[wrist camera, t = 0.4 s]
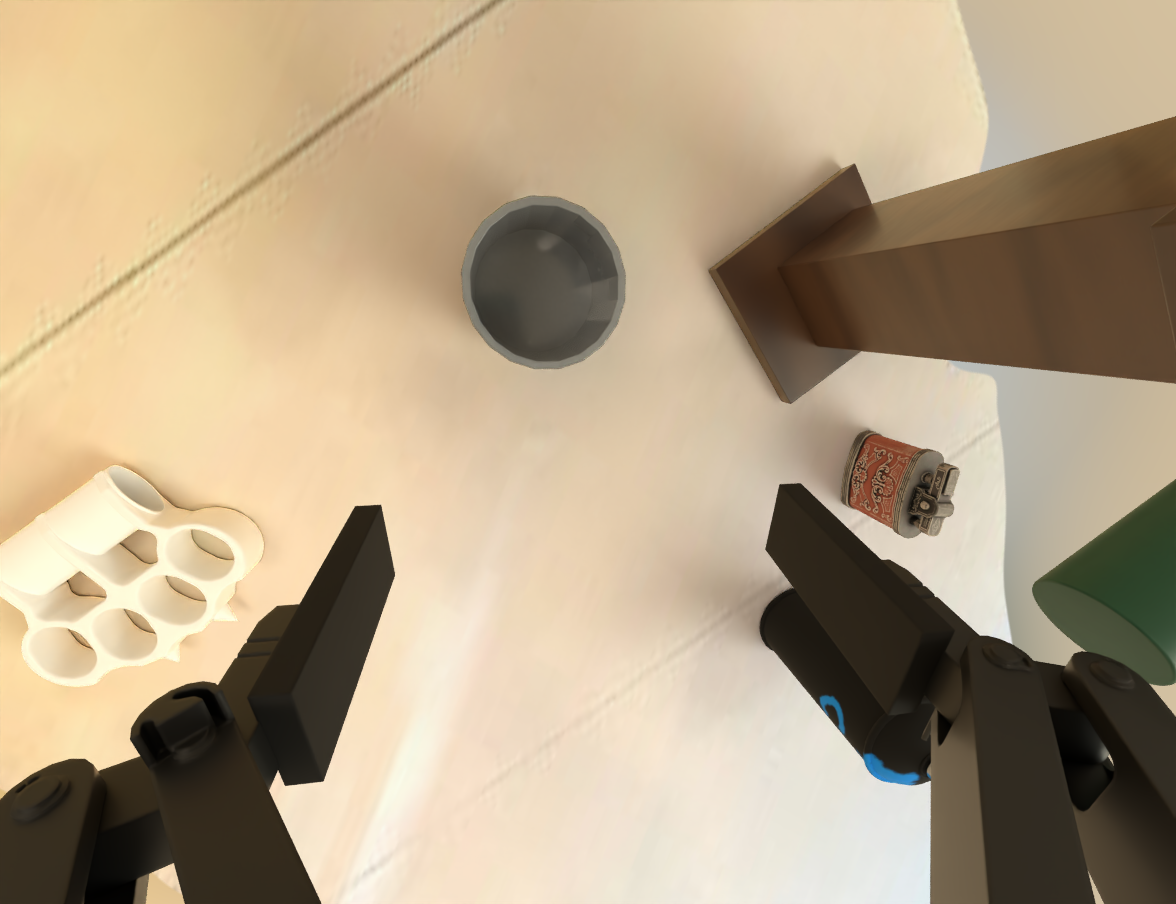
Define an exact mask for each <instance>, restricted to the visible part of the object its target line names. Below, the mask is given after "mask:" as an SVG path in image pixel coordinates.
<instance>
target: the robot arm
mask: <svg viewBox="0 0 1176 904" xmlns="http://www.w3.org/2000/svg"><path fill="white" fill-rule="evenodd" d="M765 550H766V551H767V552H768V554H769V555H770V556H771V558H772V559H773V560H774V562H775V563H776V565H777V566H778V567H779V569H780V570H781V571H782V573H783V574H784V575H785V577H786V578H787V579H788V581H789V582H790V583H791V585H792V586H793V588H794V589H795V590H796V592H797V593H798V594H799V596H800V597H801V598H802V600H803V601H804V602H805V604H806V605H807V606H808V608H809V609H810V611H811V612H812V613H813V615H814V616H815V617H816V619H817V620H818V621H819V623H820V624H821V625H822V627H823V628H824V629H825V631H826V632H827V634H828V635H829V636H830V638H831V639H832V640H833V642H834V643H835V644H836V646H837V647H838V648H839V650H840V651H841V652H842V654H843V655H844V657H845V658H846V659H847V661H848V662H849V663H850V665H851V666H852V667H853V669H854V670H855V671H856V673H857V674H858V675H859V677H860V678H861V680H862V681H863V682H864V684H865V685H866V686H867V688H868V689H869V690H870V692H871V693H872V694H873V696H874V697H875V698H876V700H877V701H878V703H879V704H880V705H881V707H882V708H883V709H884V711H885V712H886V713H887V715H897V714H905V713H914V712H917V710H918V708H919V706H920V704H921V701H922V699H923V697H924V695H925V696H926V697H927V698H928V699H929V701H930V702H931V703H932V704H933V705H934V706H935V710H934V712H933V714H932V716H931V718H930V720H929V722H928V724H927V726H926V728H925V730H924V732H923V735H922V737H921V739H923V740H925V741H927V739H928V737H929V735H931V863H930V904H1096V903H1095V899H1094V895H1093V891H1092V886H1091V882H1090V878H1089V874H1088V871H1089V873H1090V875H1091V877H1092V880H1093V881H1094V884H1095V886H1096V888H1097V890H1098V892H1099V894H1100V896H1101V898H1102V900H1103V902H1104V904H1176V717H1175V715H1174V714H1173V713H1172V711H1171V710H1170V709H1169V708H1168V707H1167V705H1166V704H1165V703H1164V702H1163V700H1162V699H1161V698H1160V697H1159V695H1158V694H1157V693H1156V692H1155V690H1154V689H1153V688H1152V687H1151V686H1150V685H1149V683H1148V682H1147V681H1145V680H1144V679H1143V678H1142V677H1141V676H1140V675H1139V674H1138V673H1136V672H1135V671H1133V670H1132V669H1130V668H1129V667H1127V666H1126V665H1124V664H1122V663H1120V662H1119V661H1116V660H1114V659H1112V658H1109V657H1106V656H1103V655H1100V654H1097V653H1092V652H1083V651H1082V652H1078V653H1075V654H1073V656H1072V657H1071V659H1070V661H1069V662H1068V664H1067V665H1066V666H1061V665H1055V664H1049V663H1043V662H1038V661H1033V660H1032V659H1031V658H1030V657H1029V656H1028V655H1027V654H1026V653H1025V652H1023V651H1022V650H1020V649H1019V648H1017V647H1015V646H1014V645H1012V644H1010V643H1008V642H1006V641H1003V640H1001V639H998V638H994V637H990V636H980V635H978V634H977V633H976V632H975V631H974V630H973V629H972V628H971V627H970V626H969V625H967V624H966V623H965V622H964V621H963V620H962V619H961V618H960V617H959V616H958V615H956V614H955V613H954V612H953V611H952V610H951V609H950V608H949V607H948V606H947V605H945V604H944V603H943V602H942V601H941V600H940V599H939V598H938V597H935V596H934V594H933V593H932V592H931V591H930V590H929V589H928V588H927V587H926V586H923V584H922V583H921V582H920V581H919V580H918V579H917V578H916V577H915V576H914V575H913V574H911V573H910V572H909V571H908V570H906V569H905V568H903V567H901V566H899V565H898V564H896V563H894V562H893V561H891V560H881V559H880V558H879V557H878V556H877V555H876V554H874V553H873V552H872V551H871V550H870V549H869V548H868V547H867V546H866V545H865V544H864V543H863V542H862V541H861V540H860V539H859V538H858V537H857V536H855V535H854V534H853V533H852V532H851V531H850V530H849V529H848V528H847V527H846V526H845V525H844V524H843V523H842V522H841V521H840V520H839V519H838V518H837V517H835V516H834V515H833V514H832V513H831V512H830V511H829V510H828V509H827V508H826V507H825V506H824V505H823V504H822V503H821V502H820V501H819V500H818V499H816V498H815V497H814V496H813V495H812V494H811V493H810V492H809V491H808V490H807V489H806V488H805V487H804V486H803V485H802V484H801V483H797V484H780V485H779V489H778V494H777V498H776V503H775V508H774V512H773V517H772V521H771V526H770V530H769V535H768V539H767V544H766V549H765ZM394 577H395V572H394V567H393V562H392V557H391V552H390V547H389V542H388V537H387V532H386V527H385V522H384V517H383V512H382V507H381V505H370V506H355V508H354V509H353V511H352V513H351V515H350V516H349V518H348V520H347V522H346V523H345V525H344V527H343V529H342V530H341V532H340V534H339V536H338V538H337V539H336V541H335V543H334V545H333V546H332V548H331V550H330V552H329V553H328V555H327V557H326V559H325V560H324V562H323V564H322V566H321V568H320V569H319V571H318V573H317V575H316V576H315V578H314V580H313V582H312V583H311V585H310V587H309V589H308V590H307V592H306V594H305V596H304V598H303V599H302V601H301V603H300V604H297V605H284V606H277V607H275V608H274V609H273V610H272V611H271V612H270V613H268V614H267V615H266V616H265V617H264V618H263V619H261V620H260V621H259V622H258V624H257V625H256V627H255V628H254V630H253V631H252V633H251V635H250V636H249V638H248V639H247V643H245V644H244V645H243V647H242V648H241V650H240V652H239V653H238V657H237V658H235V659H234V661H233V662H232V664H231V666H230V667H229V669H228V670H227V672H226V673H225V675H224V676H223V678H222V680H221V681H220V683H219V684H218V685H217V684H215V683H211V682H204V681H202V682H196V683H190V684H186V685H184V686H181V687H179V688H176V689H174V690H171V691H169V692H168V693H166V694H165V695H163V696H162V697H160V698H158V699H157V700H155V701H154V702H153V703H151V704H150V705H149V706H148V707H147V708H146V709H145V710H144V711H143V712H142V713H141V714H140V715H139V717H138V718H137V720H136V721H135V723H134V724H133V726H132V728H131V736H130V740H131V742H132V743H133V745H134V746H135V748H136V750H137V751H138V753H139V754H140V757H137V758H134V759H131V760H128V761H126V762H123V763H120V764H117V765H114V766H111V767H109V768H106V769H103V770H100V771H97V769H96V768H95V766H94V765H93V764H92V763H90V762H89V761H87V760H86V759H68V760H65V761H62V762H58V763H55V764H52V765H50V766H48V767H46V768H44V769H42V770H40V771H38V772H36V773H34V774H32V775H30V776H29V777H27V778H26V779H24V780H23V781H22V782H20V783H19V784H17V785H16V786H15V787H13V788H12V789H10V790H9V791H8V792H7V793H6V794H5V795H4V796H3V798H1V800H0V904H146V896H147V887H148V879H149V873H152V872H154V871H156V870H159V869H161V868H163V867H165V866H168V865H170V864H172V863H174V865H175V869H176V873H177V876H178V880H179V884H180V887H181V891H182V895H183V899H184V902H185V904H321V901H320V899H319V897H318V895H317V893H316V891H315V889H314V886H313V884H312V882H311V880H310V878H309V876H308V874H307V871H306V869H305V867H304V865H303V863H302V861H301V858H300V856H299V854H298V852H297V850H296V848H295V846H294V843H293V841H292V839H291V837H290V835H289V833H288V831H287V828H286V826H285V824H284V822H283V820H282V818H281V816H280V813H279V811H278V809H277V807H276V805H275V803H274V800H273V798H272V796H271V794H270V792H269V789H270V787H271V785H272V782H273V780H274V778H275V776H276V773H277V771H279V773H280V775H281V778H282V780H283V782H284V785H285V786H289V785H297V784H306V783H314V782H323V781H324V779H325V776H326V773H327V770H328V767H329V764H330V761H331V758H332V755H333V753H334V750H335V747H336V744H337V741H338V738H339V735H340V732H341V730H342V727H343V724H344V721H345V718H346V715H347V712H348V709H349V706H350V704H351V701H352V698H353V695H354V692H355V689H356V686H357V683H358V680H359V678H360V675H361V672H362V669H363V666H364V663H365V660H366V657H367V655H368V652H369V649H370V646H371V643H372V640H373V637H374V634H375V631H376V629H377V626H378V623H379V620H380V617H381V614H382V611H383V608H384V606H385V603H386V600H387V597H388V594H389V591H390V588H391V585H392V582H393V580H394ZM1109 754H1110V756H1111V758H1112V760H1113V764H1114V766H1113V764H1112V762H1111V761H1110V759H1109V758H1108V755H1109ZM1087 869H1088V870H1087Z"/></svg>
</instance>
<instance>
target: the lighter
mask: <svg viewBox="0 0 1176 904" xmlns="http://www.w3.org/2000/svg"><path fill="white" fill-rule="evenodd" d="M959 474H960V471H959V468H958V467H955V466H952V465H949V464H946V463H944V458H943V456H942V454H941V453H939V452H937V451H934V450H930V449H921V448H917V447H914V446H911V445H908V444H905V443H902V442H898V441H895V440H892V439H889V438H886V437H883V436H882V435H881V434H879V433H876V432H873V431H864V432H862V433H860V434H859V435H858V436H857V438H856V440H855V442H854V444H853V447H852V449H851V451H850V454H849V457H848V460H847V463H846V467H845V470H844V476H843V481H842V491H841V501H842V503H843V504H844V505H846V506H848V507H849V508H851V509H855V510H859V511H861V512H862V513H864V514H866V515H868V516H870V517H872V518H873V519H875V520H877V521H879V522H881V523H883V524H885V525H886V526H888V527H890V528H892V529H893V530H894V532H896V533H897V534H899V535H901V536H903V537H904V538H913V537H915V536H917V535H919V534H920V533H921V532H923V533H925V534H927V535H929V536H937V535H938V534H939V533H940V531H941V527H942V524H943V521H944V518H946V517H949V516H951V515H952V514H953V511H954V505H953V504H952V503H951V500H950V499H951V496H952V495H953V493H954V490H955V486H956V483H957V480H958V477H959Z"/></svg>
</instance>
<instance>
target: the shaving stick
mask: <svg viewBox="0 0 1176 904" xmlns="http://www.w3.org/2000/svg"><path fill="white" fill-rule="evenodd" d="M1032 592H1033V596H1034V598H1035V600H1036V602H1037V604H1038V606H1039V607H1040V608H1041V610H1042V611H1043V612H1044V614H1045V615H1046V616H1047V617H1048V618H1049V619H1050V620H1051V622H1052V623H1053V624H1054V625H1055V626H1056V627H1057V628H1058V629H1060V630H1061V631H1062V632H1063V633H1064V634H1065V635H1066V636H1067V637H1069V638H1070V639H1071V640H1072V641H1073V642H1075V643H1076V644H1077V645H1079V646H1080V647H1081V648H1083V649H1084V650H1085V651H1087V652H1092V653H1097V654H1100V655H1103V656H1106V657H1109V658H1112V659H1114V660H1116V661H1119V662H1120V663H1122V664H1124V665H1126V666H1127V667H1129V668H1130V669H1132V670H1133V671H1135V672H1136V673H1138V674H1139V675H1140V676H1141V677H1142V678H1143V679H1144V680H1145V681H1147V682H1148V683H1149V684H1153V685H1159V686H1166V685H1172V684H1174V683H1176V479H1175V480H1174V481H1173V482H1171V483H1170V484H1169V485H1167V486H1166V487H1164V488H1163V489H1162V490H1160V491H1159V492H1158V493H1156V494H1155V495H1153V496H1152V497H1151V498H1150V499H1148V500H1147V501H1145V502H1144V503H1142V504H1141V505H1140V506H1138V507H1137V508H1136V509H1134V510H1133V511H1132V512H1130V513H1129V514H1127V515H1126V516H1125V517H1123V518H1122V519H1121V520H1119V521H1118V522H1116V523H1115V524H1114V525H1112V526H1111V527H1110V528H1108V529H1107V530H1106V531H1104V532H1103V533H1101V534H1100V535H1099V536H1097V537H1096V538H1095V539H1093V540H1092V541H1091V542H1089V543H1088V544H1086V545H1085V546H1084V547H1082V548H1081V549H1080V550H1078V551H1077V552H1076V553H1074V554H1073V555H1071V556H1070V557H1069V558H1067V559H1066V560H1064V561H1063V562H1062V563H1060V564H1059V565H1058V566H1056V567H1055V568H1054V569H1052V570H1051V571H1049V572H1048V573H1047V574H1045V575H1044V576H1043V577H1041V578H1040V579H1039V580H1037V581H1036V582H1035V583H1034V585H1033V588H1032Z"/></svg>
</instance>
